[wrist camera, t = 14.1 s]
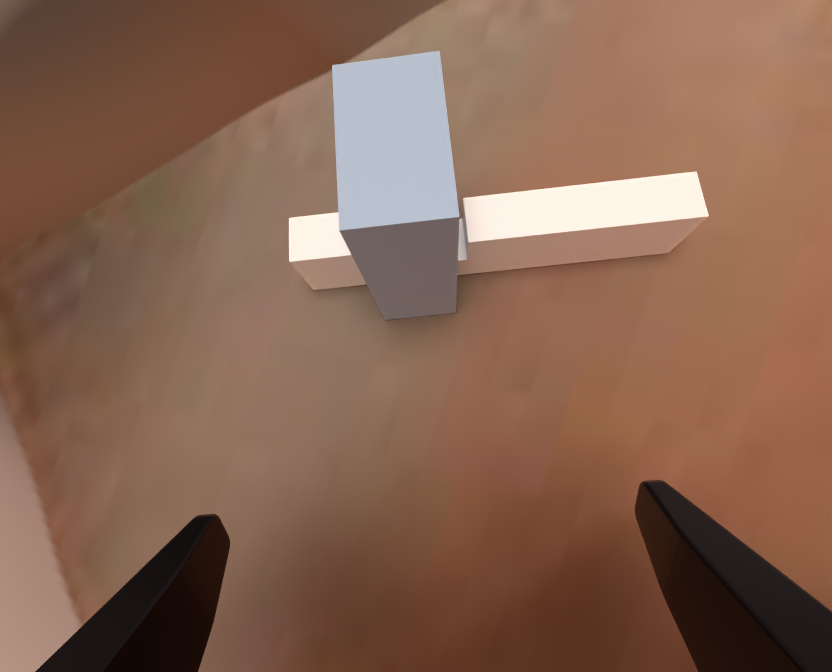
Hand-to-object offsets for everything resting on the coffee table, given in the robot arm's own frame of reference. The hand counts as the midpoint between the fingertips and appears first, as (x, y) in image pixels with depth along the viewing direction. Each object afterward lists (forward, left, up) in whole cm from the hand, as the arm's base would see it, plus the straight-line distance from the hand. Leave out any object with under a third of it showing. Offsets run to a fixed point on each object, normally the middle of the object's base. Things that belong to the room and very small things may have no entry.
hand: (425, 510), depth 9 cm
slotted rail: (+11, +5, -14) cm, 19 cm away
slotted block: (+9, +8, -14) cm, 18 cm away
